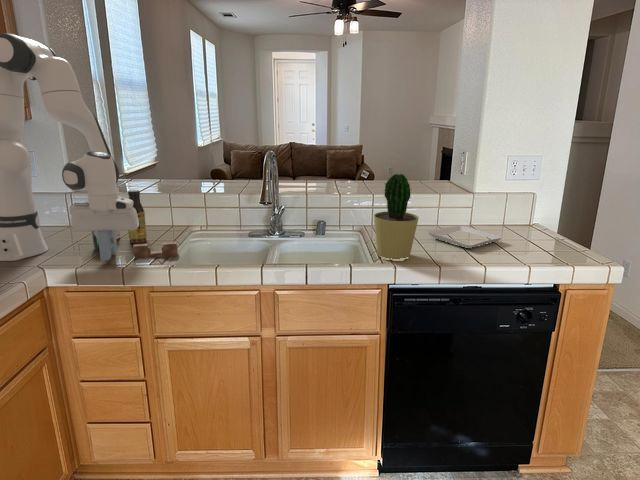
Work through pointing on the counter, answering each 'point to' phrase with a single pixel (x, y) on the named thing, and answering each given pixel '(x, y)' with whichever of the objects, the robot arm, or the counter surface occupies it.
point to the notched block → (144, 251)
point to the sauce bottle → (140, 232)
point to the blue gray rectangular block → (106, 244)
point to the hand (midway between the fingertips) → (107, 242)
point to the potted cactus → (395, 221)
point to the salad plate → (444, 231)
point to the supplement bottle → (95, 242)
